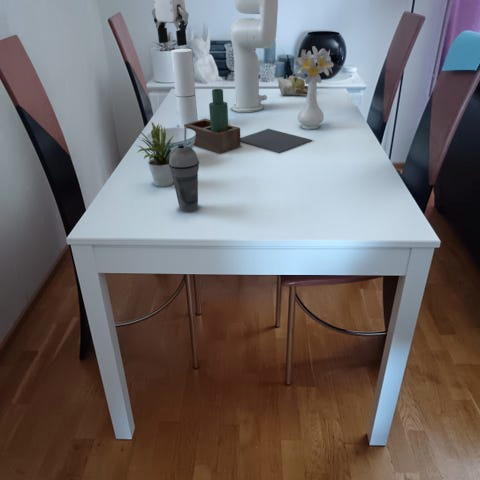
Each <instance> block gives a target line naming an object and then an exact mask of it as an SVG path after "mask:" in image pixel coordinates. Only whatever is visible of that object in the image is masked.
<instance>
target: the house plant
mask: <svg viewBox="0 0 480 480" xmlns="http://www.w3.org/2000/svg"><path fill="white" fill-rule="evenodd" d="M151 128H152V129H151V131H150V132H151V135H152V139H153V141H152V142H153V144H151V142H150V141H149V140H148V139H147V137H146V136H147V135H145V134H144V133H143V132H142V131H140V130H138V129H132V128H131V129H130V131H131V130H133V131H136V132H137V133H139V134H141V135H142V136H143V137H141V141H142V142H143V143H144V144H146V146H147V147H145V148H144V147H143V146H141V145H137V144H136V145H135V146H136V147H139V148H140V149H138V151H136V154H137V153H140V152H142V151H144V153H145V154H144V156H143V160H145V159H146V158H148V159H149V160H148V162H147V164H148V167H149V170H150V172H151V176H152V180H153V183H154V185H155V186H156V187H160V188H164V187H169V186H172V185H173V184H174V180H173V175H172V173H171V169H170V166H169V158H170V155H171V154H170V152H171V151H172V150H171V149H170V147H172V146H173V145H174V144H176V143H173V144H172V145H171V146H170V147H169V148H168V146H169V144H170V142H171V140H172V138H173V137H174V136H175V135H174V134H173V135H174V136H172V137H171V138H170V140H169V141H168V142H167V144H166V147H165V139H166V130H165V128H166V127H165V126H163V125H162V124H161V123H158V124H157V125H155V123H154V122H153V121H151ZM160 129H161V145H160ZM163 129H164V132H163ZM176 135H177V134H176ZM133 139H140V136H139V137H138V136H135V137H134V136H133ZM147 140H148V141H149V142H148V141H147ZM148 143H149V144H150V145H151V146H152V147H153V148H151V147H150V146H149V144H148ZM179 144H180V143H179ZM167 148H168V150H167ZM164 149H165V150H164ZM154 151H155V152H156V154H155V152H154ZM166 151H167V152H166ZM165 153H166V155H165ZM169 154H170V155H169ZM168 155H169V156H168Z"/></svg>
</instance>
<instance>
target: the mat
mask: <svg viewBox="0 0 480 480" xmlns="http://www.w3.org/2000/svg"><path fill="white" fill-rule="evenodd" d="M240 140H241V143H243V144H247V145H250V146H254V147H257V148H260V149H264V150H267V151H270V152H275V153H278V154H281V153H283V152H286V151H289V150H291V149H294V148H297V147H299V146H302V145H305V144H307V143H310V142H312V141H313V140H312V139H310V138H307V137H301V136H299V135H294V134H289V133H287V132H282V131H278V130H275V129H271V128H267V129H263V130H261V131H258V132H254V133H251V134H248V135H246V136H245V135H244V136H241V137H240Z"/></svg>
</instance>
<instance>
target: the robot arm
mask: <svg viewBox="0 0 480 480" xmlns="http://www.w3.org/2000/svg"><path fill="white" fill-rule="evenodd" d="M234 3H235V4H234V5H235V9H236V10H237V12H238V13H240V14H245V15H246V14H247V15H260V18H254V17H242V18H238V19H236V20H234V21H233V22H232V23H231V24H230V25H231V26H230V29H229V34H230V40H231V46H232V52H233V67H234V94H235V95H234V96H235V103H234V104H232V105H231V110H232V111H234V112H238V113H254V112H259V111H261V110H263V109H264V105H263V103H262V101H266V100H268V96H267V95H266V94H263V95H261V94H260V72H259V70H260V66H259V64H260V63H259V62H260V61H259V57H258V54H257V52H256V50H255V49H270V48H272V47H273V46H274V45H275V42H276V40H277V39H276V38H277V30H278V29H277V28H278V27H277V26H278V11H279V0H234ZM185 4H186V3H185V0H153V6H154V8H153V10H151V15H152V17H153V21H154V23H155V28H156V30H157V38H158V44H166V43H168V42H169V37H168V36H169V35H168V28H167V27H166V25H167V23H168V24H174V26H175V28H176V30H175V35H176V45H177V46H178V47H182V46H183V47H184V46H187V44H188V43H187V26H188V25H189V18H190V17H189V16H190V15H189V12H187V10H186V5H185Z"/></svg>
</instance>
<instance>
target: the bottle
mask: <svg viewBox="0 0 480 480" xmlns="http://www.w3.org/2000/svg"><path fill="white" fill-rule="evenodd" d="M211 97H212V102H210V103H209V104H208V111H209V120H210V125H211V131H215V132H218V133H220V132H223V131H226V130H229V127H228V125H229V108H228V102H227V101H224V89H223V88H213V89H212V90H211Z"/></svg>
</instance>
